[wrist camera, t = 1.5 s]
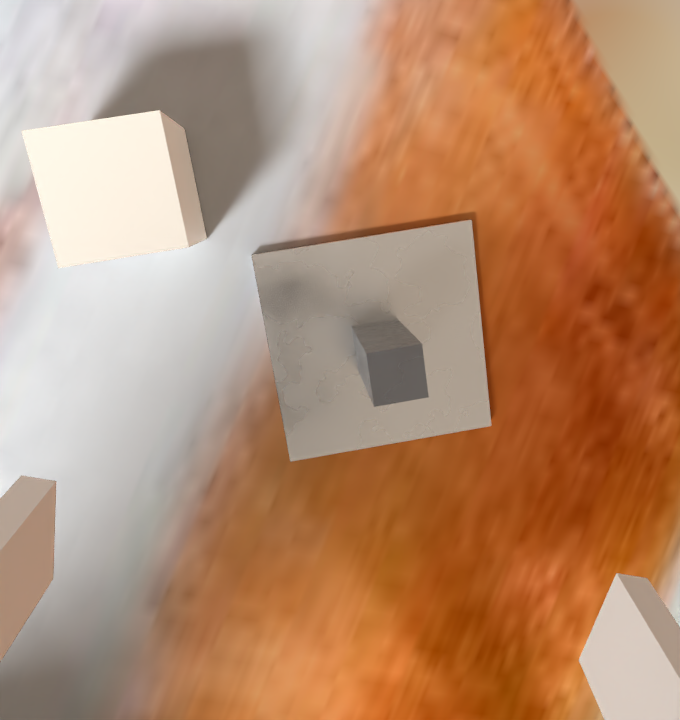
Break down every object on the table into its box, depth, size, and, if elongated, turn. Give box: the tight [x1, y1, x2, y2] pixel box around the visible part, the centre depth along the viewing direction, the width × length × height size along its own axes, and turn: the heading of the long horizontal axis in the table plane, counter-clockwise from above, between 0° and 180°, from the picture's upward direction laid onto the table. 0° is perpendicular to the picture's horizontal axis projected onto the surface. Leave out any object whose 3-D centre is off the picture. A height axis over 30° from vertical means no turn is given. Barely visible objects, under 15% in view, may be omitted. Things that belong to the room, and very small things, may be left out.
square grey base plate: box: [252, 220, 492, 462], centre depth 32 cm, size 12×12×7 cm
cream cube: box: [22, 110, 207, 268], centre depth 29 cm, size 6×6×7 cm
